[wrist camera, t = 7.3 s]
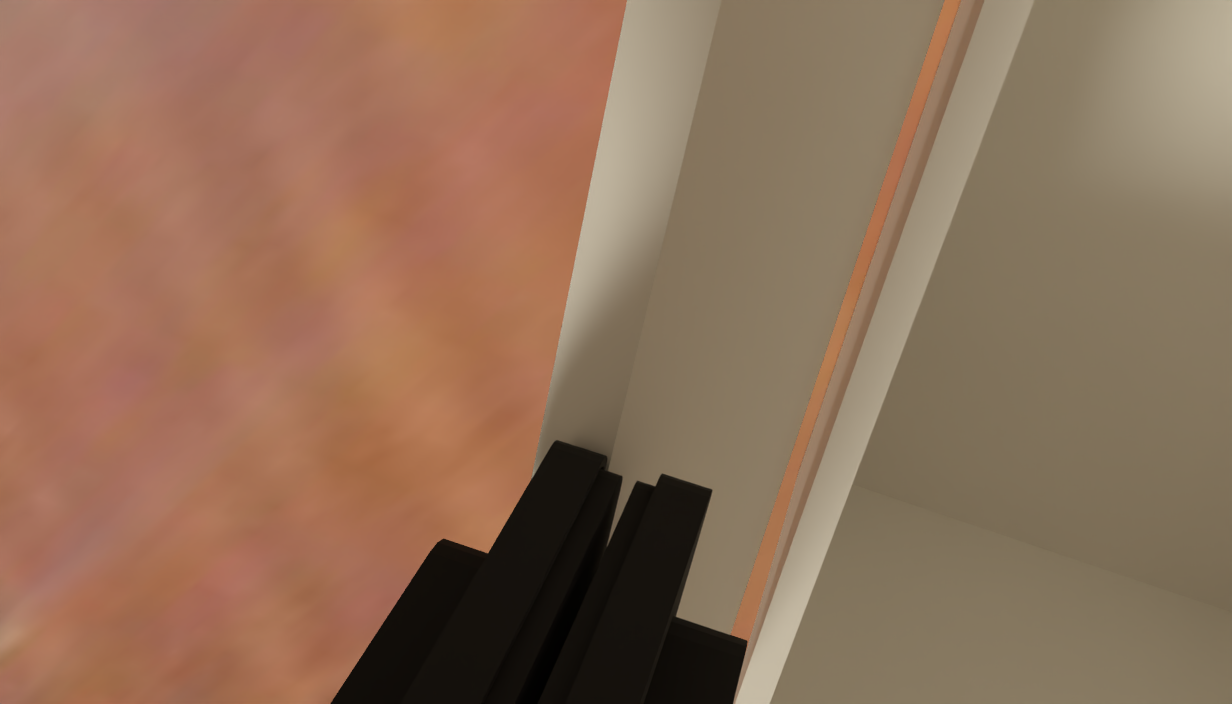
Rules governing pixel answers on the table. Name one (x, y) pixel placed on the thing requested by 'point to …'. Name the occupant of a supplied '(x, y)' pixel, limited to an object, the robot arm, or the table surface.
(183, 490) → the table surface
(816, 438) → the carton
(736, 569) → the carton flap
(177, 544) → the table surface
